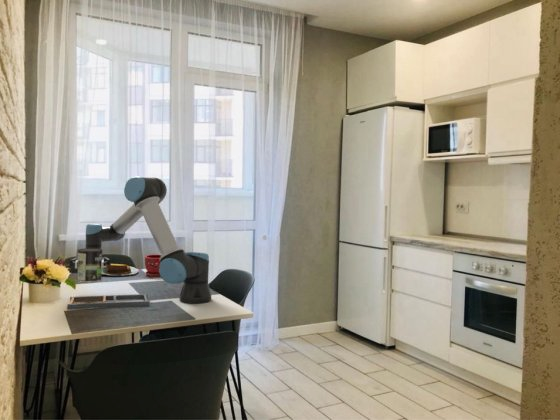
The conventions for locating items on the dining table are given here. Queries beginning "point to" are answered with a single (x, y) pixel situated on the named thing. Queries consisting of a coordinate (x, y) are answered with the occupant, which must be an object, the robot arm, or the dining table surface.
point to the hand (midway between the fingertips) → (89, 265)
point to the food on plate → (118, 270)
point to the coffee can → (89, 265)
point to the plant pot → (152, 269)
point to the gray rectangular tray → (100, 302)
